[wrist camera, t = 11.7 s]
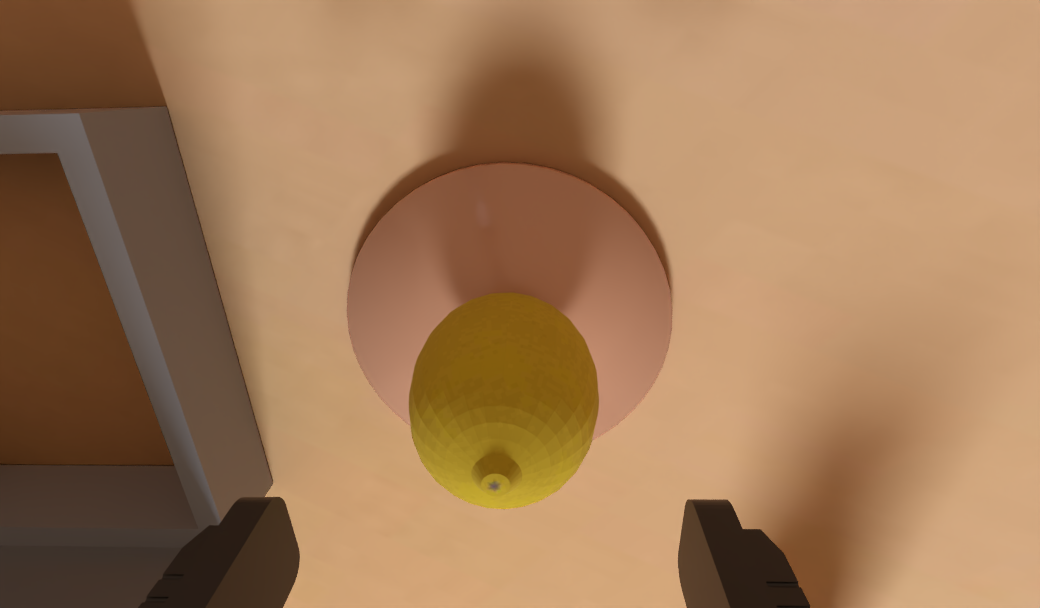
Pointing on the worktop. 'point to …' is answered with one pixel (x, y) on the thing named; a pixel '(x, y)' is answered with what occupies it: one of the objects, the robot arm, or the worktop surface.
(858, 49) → the worktop surface
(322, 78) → the worktop surface
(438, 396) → the lemon
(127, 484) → the case
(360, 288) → the saucer
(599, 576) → the worktop surface
